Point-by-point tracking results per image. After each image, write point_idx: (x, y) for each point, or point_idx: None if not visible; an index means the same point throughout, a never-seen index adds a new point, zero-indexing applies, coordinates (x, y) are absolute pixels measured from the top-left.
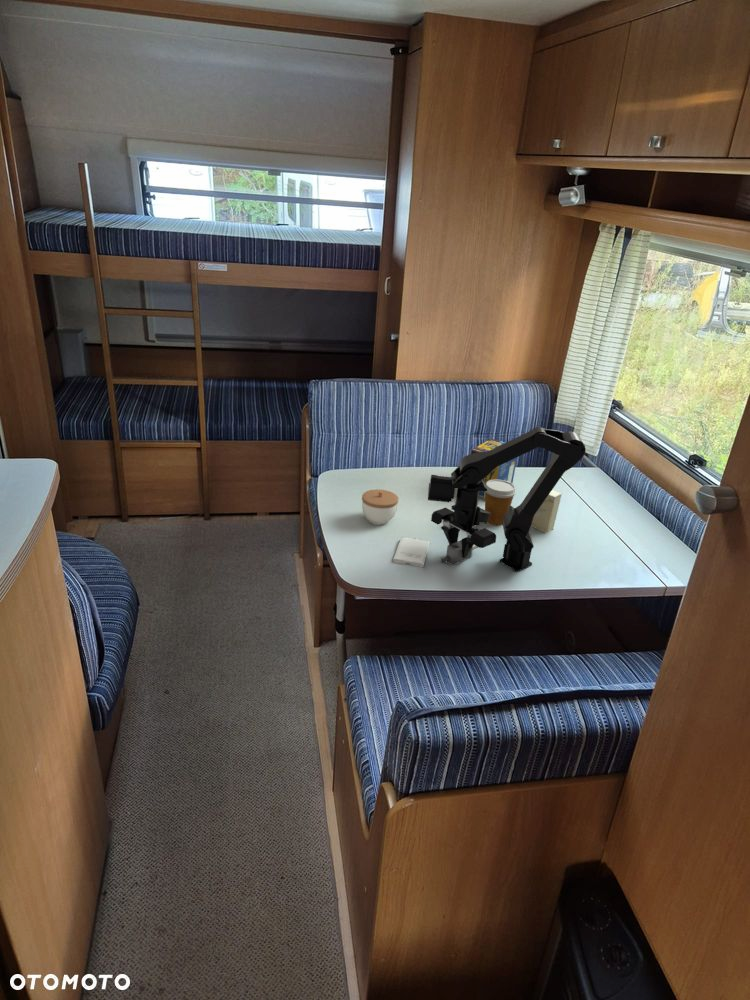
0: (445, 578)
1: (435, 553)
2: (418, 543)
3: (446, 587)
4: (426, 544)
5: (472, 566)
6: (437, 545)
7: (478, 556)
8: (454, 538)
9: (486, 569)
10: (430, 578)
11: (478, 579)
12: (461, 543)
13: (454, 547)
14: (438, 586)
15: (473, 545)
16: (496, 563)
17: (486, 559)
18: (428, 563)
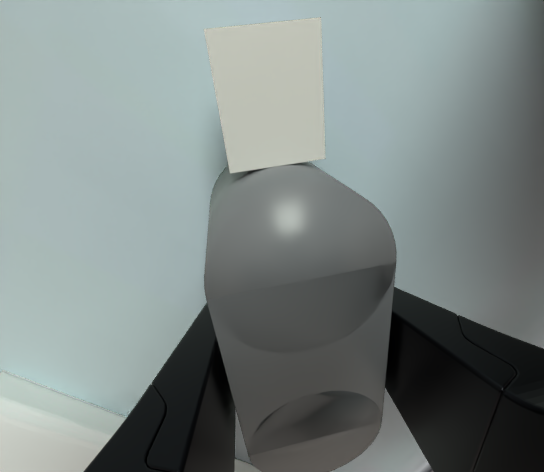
0: (395, 422)
1: (153, 379)
2: (5, 469)
3: None
4: (35, 433)
5: (417, 251)
6: (27, 322)
7: (350, 99)
8: (216, 458)
9: (507, 185)
10: (355, 466)
11: (518, 300)
12: (289, 347)
13: (315, 432)
14: (415, 458)
15: (294, 117)
16: (533, 23)
17: (431, 63)
18: (244, 442)
